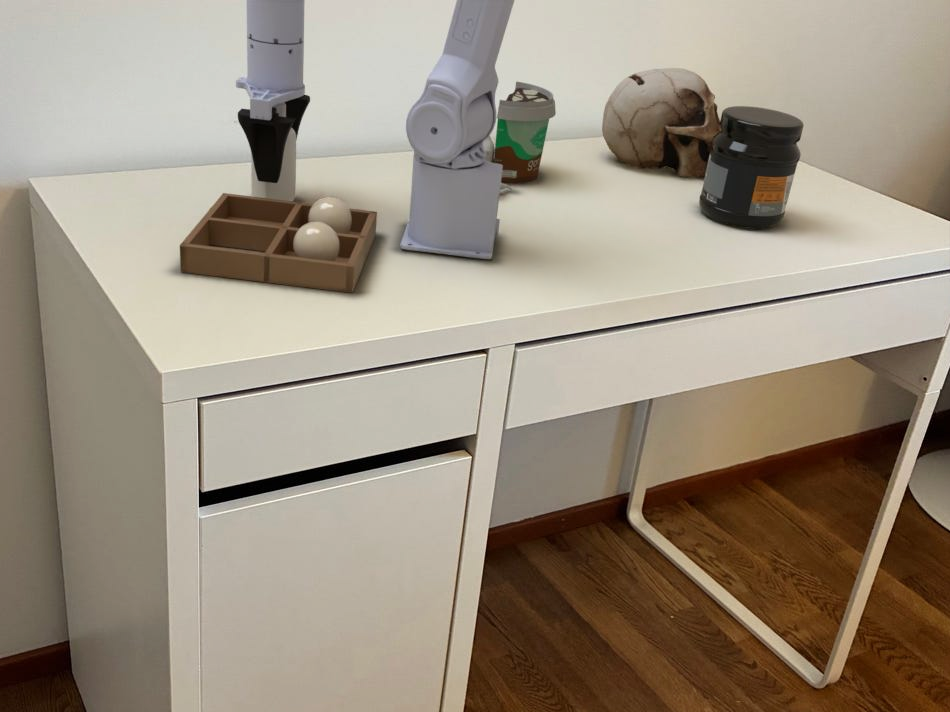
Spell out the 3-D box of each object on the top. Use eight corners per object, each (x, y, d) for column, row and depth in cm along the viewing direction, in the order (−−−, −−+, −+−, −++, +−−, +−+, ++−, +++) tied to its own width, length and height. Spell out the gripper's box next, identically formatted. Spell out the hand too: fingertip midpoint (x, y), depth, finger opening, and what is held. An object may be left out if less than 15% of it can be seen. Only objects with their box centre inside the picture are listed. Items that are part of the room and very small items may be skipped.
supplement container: (799, 230, 134) (827, 128, 128) (727, 233, 130) (751, 128, 124) (750, 201, 142) (774, 104, 135) (680, 203, 138) (701, 103, 131)
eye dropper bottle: (241, 198, 122) (240, 85, 115) (288, 194, 125) (290, 83, 118) (258, 211, 119) (258, 95, 113) (305, 207, 122) (308, 93, 115)
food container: (538, 193, 135) (550, 108, 130) (489, 184, 136) (498, 100, 131) (553, 167, 146) (564, 87, 140) (507, 159, 146) (516, 80, 141)
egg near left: (354, 236, 115) (356, 194, 112) (347, 250, 111) (349, 207, 109) (311, 231, 115) (312, 188, 112) (303, 245, 111) (304, 202, 109)
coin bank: (749, 170, 154) (764, 69, 146) (672, 201, 144) (683, 95, 136) (659, 144, 163) (669, 48, 155) (581, 171, 153) (587, 70, 145)
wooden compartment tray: (375, 235, 117) (377, 211, 115) (352, 293, 103) (353, 266, 102) (223, 217, 117) (223, 192, 115) (180, 272, 103) (179, 245, 102)
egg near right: (342, 262, 108) (344, 218, 106) (335, 278, 105) (336, 233, 102) (297, 256, 108) (298, 212, 106) (288, 272, 105) (289, 227, 102)
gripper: (252, 21, 119) (253, 149, 126) (218, 47, 107) (221, 187, 114) (318, 29, 119) (314, 157, 126) (291, 56, 107) (289, 195, 114)
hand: (274, 172), depth 120 cm, fingers open, 6 cm apart
